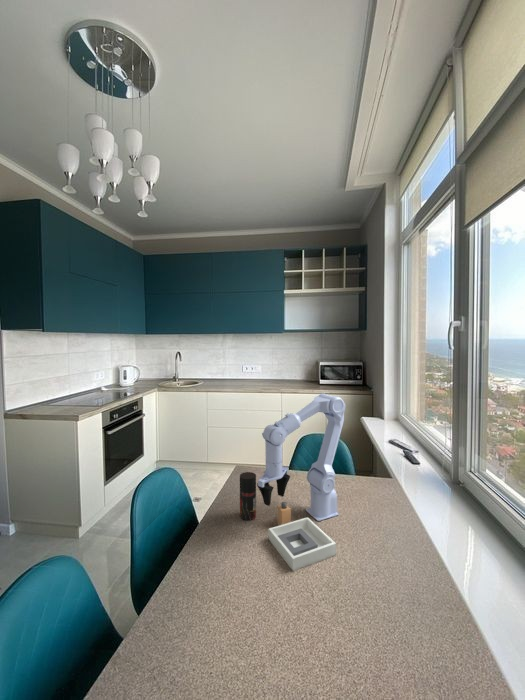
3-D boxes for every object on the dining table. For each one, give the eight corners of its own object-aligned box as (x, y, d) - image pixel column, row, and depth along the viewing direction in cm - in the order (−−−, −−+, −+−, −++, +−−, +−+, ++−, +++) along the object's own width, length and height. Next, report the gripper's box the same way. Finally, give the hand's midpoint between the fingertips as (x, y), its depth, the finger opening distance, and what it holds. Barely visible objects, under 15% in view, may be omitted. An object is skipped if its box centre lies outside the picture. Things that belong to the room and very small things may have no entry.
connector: (285, 520, 107) (285, 499, 107) (290, 525, 104) (290, 504, 104) (277, 522, 106) (277, 501, 106) (282, 528, 103) (282, 506, 102)
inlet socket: (301, 534, 99) (301, 528, 98) (317, 551, 90) (317, 544, 90) (277, 542, 95) (277, 535, 95) (292, 560, 87) (292, 553, 86)
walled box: (307, 527, 103) (307, 517, 103) (336, 554, 90) (336, 543, 90) (268, 539, 97) (268, 528, 97) (292, 571, 83) (293, 558, 83)
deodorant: (253, 521, 106) (253, 479, 106) (237, 519, 108) (237, 478, 107) (257, 512, 112) (257, 472, 112) (242, 510, 113) (242, 471, 113)
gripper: (277, 452, 111) (277, 488, 111) (250, 464, 100) (251, 504, 100) (293, 456, 106) (293, 494, 107) (267, 470, 95) (267, 512, 96)
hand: (274, 500), depth 103 cm, fingers open, 7 cm apart
